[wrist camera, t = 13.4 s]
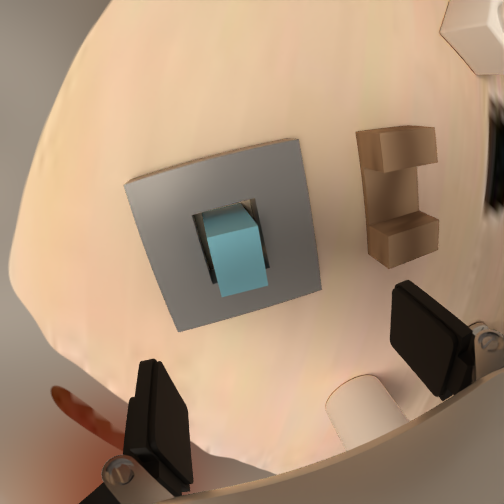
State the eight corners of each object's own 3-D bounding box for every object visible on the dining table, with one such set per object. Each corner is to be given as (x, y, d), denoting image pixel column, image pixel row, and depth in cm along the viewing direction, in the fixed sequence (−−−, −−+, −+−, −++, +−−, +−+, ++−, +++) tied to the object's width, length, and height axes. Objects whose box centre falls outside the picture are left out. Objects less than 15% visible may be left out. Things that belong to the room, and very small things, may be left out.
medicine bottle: (475, 76, 22) (561, 79, 12) (437, 33, 20) (529, 19, 9) (485, 38, 21) (561, 35, 10) (449, -4, 18) (528, -21, 7)
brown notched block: (408, 125, 23) (434, 127, 20) (415, 237, 28) (437, 249, 25) (355, 131, 23) (379, 133, 19) (368, 253, 27) (388, 269, 24)
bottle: (386, 368, 35) (512, 541, 7) (370, 407, 38) (467, 564, 10) (331, 381, 33) (452, 592, 6) (319, 421, 36) (409, 602, 9)
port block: (287, 138, 22) (298, 139, 20) (310, 276, 27) (321, 289, 24) (130, 179, 21) (123, 185, 18) (178, 315, 26) (178, 332, 23)
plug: (240, 203, 23) (257, 225, 18) (249, 250, 25) (268, 285, 19) (201, 212, 23) (206, 238, 17) (213, 259, 24) (221, 297, 19)
